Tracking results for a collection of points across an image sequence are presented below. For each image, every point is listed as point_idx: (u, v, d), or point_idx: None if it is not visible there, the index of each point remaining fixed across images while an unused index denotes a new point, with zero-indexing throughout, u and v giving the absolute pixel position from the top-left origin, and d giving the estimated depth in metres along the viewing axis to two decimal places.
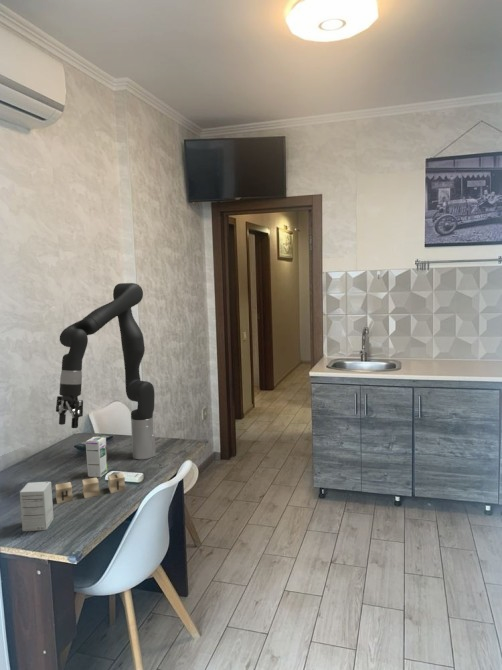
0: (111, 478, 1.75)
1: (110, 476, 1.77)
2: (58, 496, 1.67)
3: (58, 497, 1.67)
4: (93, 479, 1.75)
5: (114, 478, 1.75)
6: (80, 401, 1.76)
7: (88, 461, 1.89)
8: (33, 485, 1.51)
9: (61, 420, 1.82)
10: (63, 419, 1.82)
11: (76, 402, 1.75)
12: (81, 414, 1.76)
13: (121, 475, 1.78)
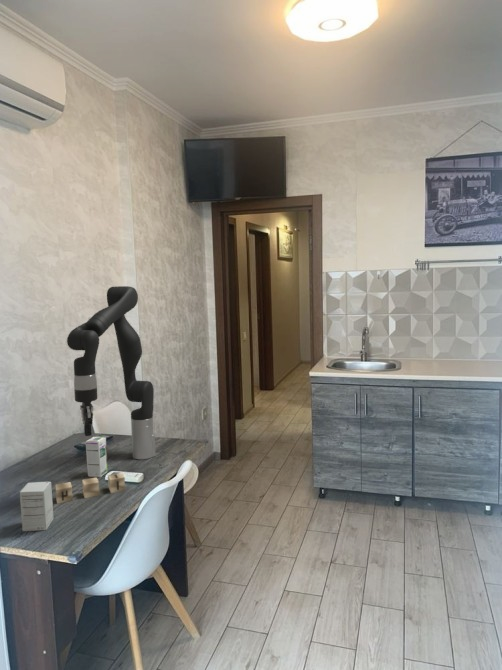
0: (111, 478, 1.75)
1: (110, 476, 1.77)
2: (58, 496, 1.67)
3: (58, 497, 1.67)
4: (93, 479, 1.75)
5: (114, 478, 1.75)
6: (89, 415, 1.65)
7: (88, 461, 1.89)
8: (33, 485, 1.51)
9: None
10: None
11: None
12: None
13: (121, 475, 1.78)
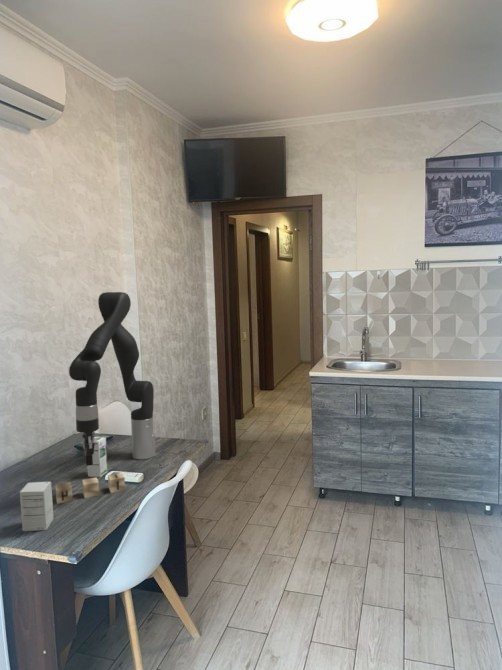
0: (111, 478, 1.75)
1: (110, 476, 1.77)
2: (58, 496, 1.67)
3: (58, 497, 1.67)
4: (93, 479, 1.75)
5: (114, 478, 1.75)
6: (91, 445, 1.66)
7: None
8: (33, 485, 1.51)
9: None
10: None
11: (86, 446, 1.66)
12: None
13: (121, 475, 1.78)
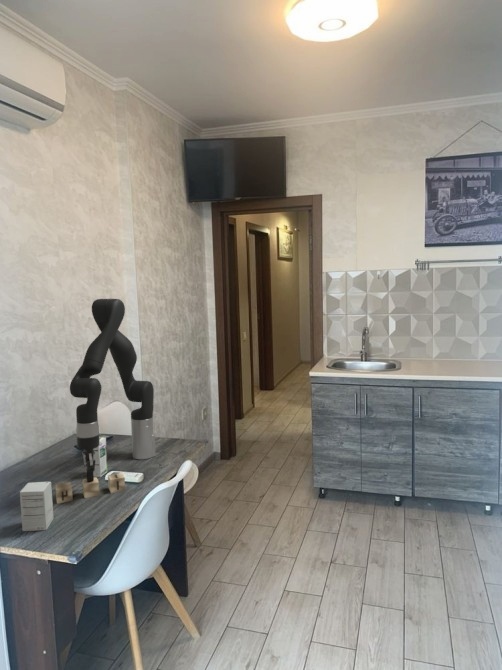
0: (111, 478, 1.75)
1: (110, 476, 1.77)
2: (58, 496, 1.67)
3: (58, 497, 1.67)
4: None
5: (114, 478, 1.75)
6: (92, 463, 1.67)
7: None
8: (33, 485, 1.51)
9: None
10: None
11: None
12: (93, 469, 1.70)
13: (121, 475, 1.78)
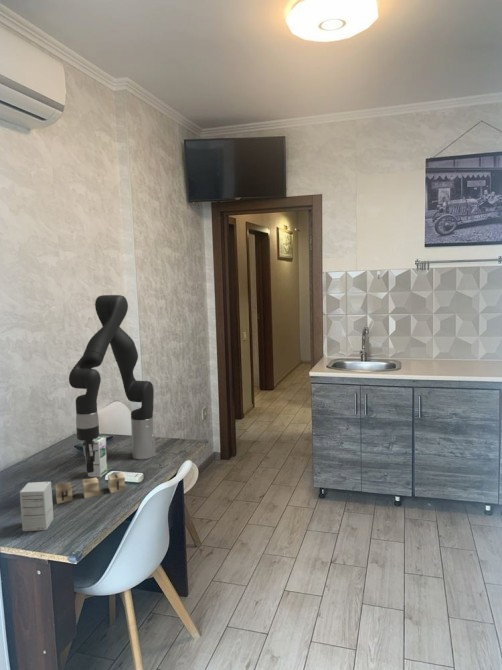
0: (111, 478, 1.75)
1: (110, 476, 1.77)
2: (58, 496, 1.67)
3: (58, 497, 1.67)
4: (93, 479, 1.75)
5: (114, 478, 1.75)
6: (91, 453, 1.67)
7: None
8: (33, 485, 1.51)
9: None
10: None
11: (87, 453, 1.67)
12: (92, 460, 1.70)
13: (121, 475, 1.78)
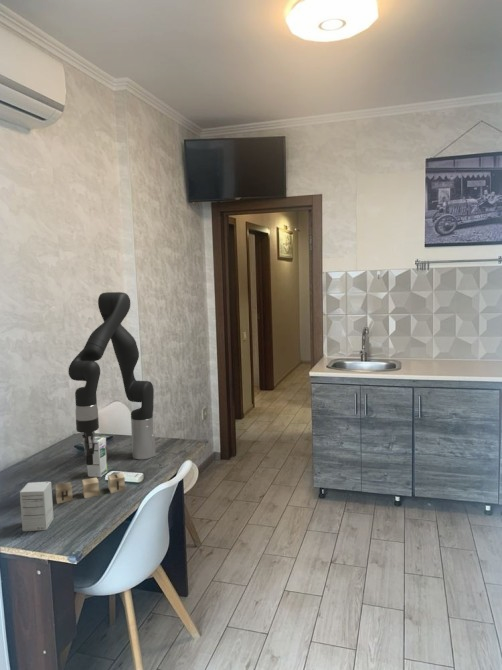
0: (111, 478, 1.75)
1: (110, 476, 1.77)
2: (58, 496, 1.67)
3: (58, 497, 1.67)
4: (93, 479, 1.75)
5: (114, 478, 1.75)
6: (91, 445, 1.67)
7: None
8: (33, 485, 1.51)
9: None
10: None
11: (87, 446, 1.66)
12: (92, 452, 1.70)
13: (121, 475, 1.78)
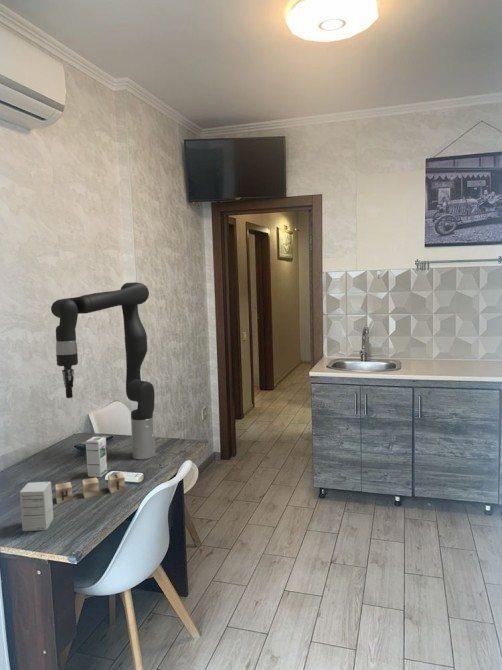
0: (111, 478, 1.75)
1: (110, 476, 1.77)
2: (58, 496, 1.67)
3: (58, 497, 1.67)
4: (93, 479, 1.75)
5: (114, 478, 1.75)
6: (70, 378, 1.79)
7: (88, 461, 1.89)
8: (33, 485, 1.51)
9: None
10: None
11: (66, 378, 1.78)
12: (71, 385, 1.82)
13: (121, 475, 1.78)
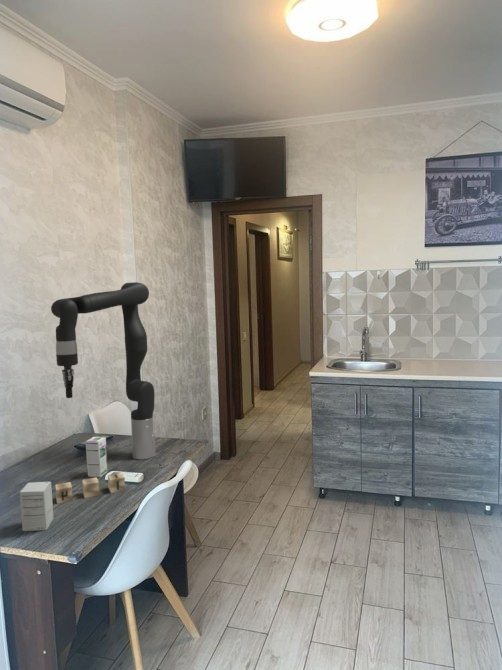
0: (111, 478, 1.75)
1: (110, 476, 1.77)
2: (58, 496, 1.67)
3: (58, 497, 1.67)
4: (93, 479, 1.75)
5: (114, 478, 1.75)
6: (70, 377, 1.79)
7: (88, 461, 1.89)
8: (33, 485, 1.51)
9: None
10: None
11: (66, 378, 1.79)
12: (71, 385, 1.82)
13: (121, 475, 1.78)
